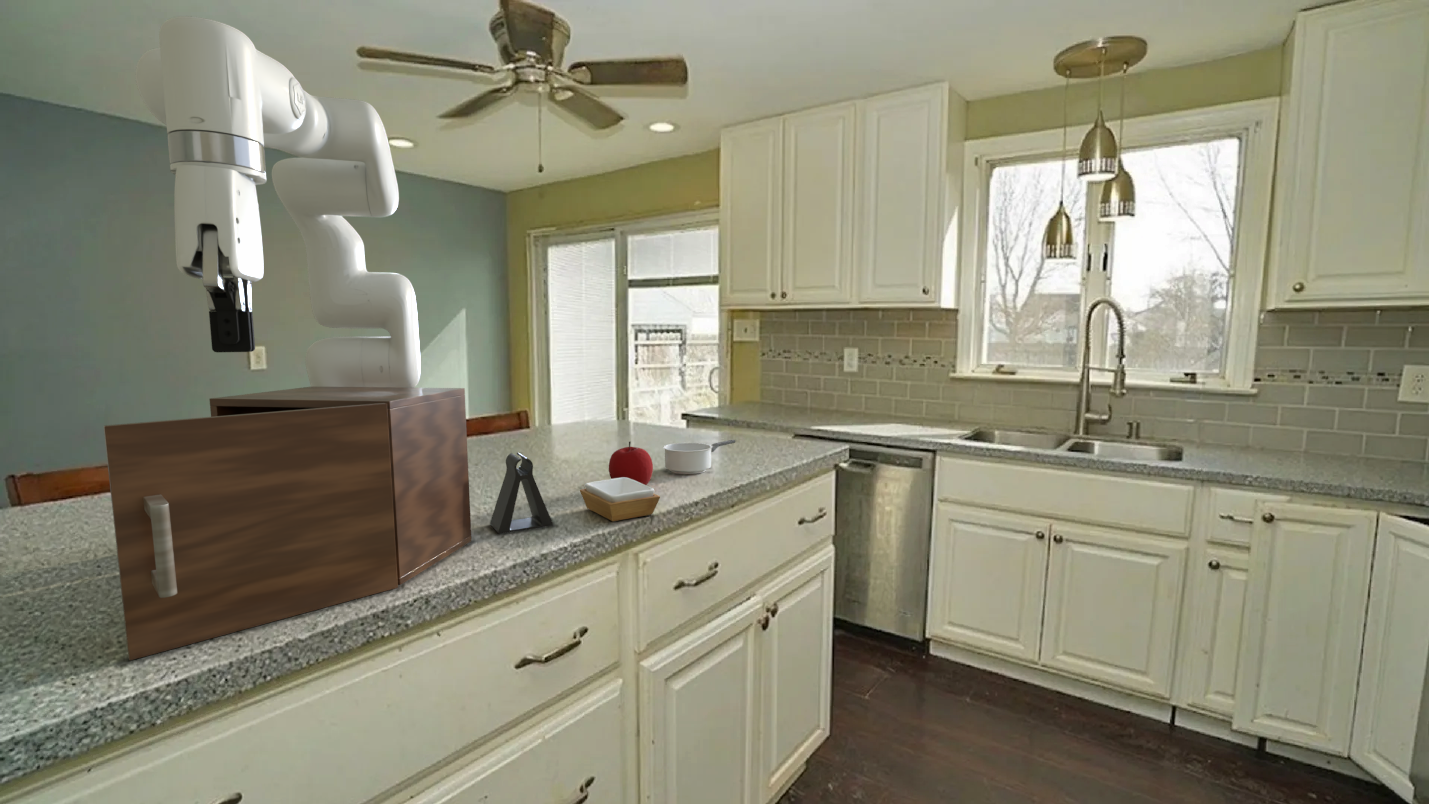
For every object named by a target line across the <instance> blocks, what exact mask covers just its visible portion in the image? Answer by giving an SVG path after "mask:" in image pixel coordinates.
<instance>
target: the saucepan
mask: <svg viewBox="0 0 1429 804" xmlns="http://www.w3.org/2000/svg"><path fill="white" fill-rule="evenodd" d="M735 443H736V439H727V440H724V441H718V442H715V443H712V444H710V443H704V442H675V443H674V442H673V443H669V444H664V445H663V446H662V448H663V449H664V468H665V469H666V470H669V471H670V473H672V474H677V475H695V474H696V475H697V474H702V473H705V472H706V471H707V470H708V469H710V468H711V467H712V453H714V452H715V451H716V450H717V449H718V448H719V447H722V446H727V445H731V444H735Z"/></svg>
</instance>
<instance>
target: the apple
mask: <svg viewBox="0 0 1429 804" xmlns="http://www.w3.org/2000/svg"><path fill="white" fill-rule="evenodd" d="M653 471H654V464H653V460H652V457H651V455H650V454H649V452H648V451H647V450H645V449H644V448H641V447H636V446H631V441H628V446H625V447H621V448H619V449H617V450H615V451H613V453H611V455H610V458H609V461H608V474H609V478H610V479H614V478H622V477H626V478H630V479H632V480H635V481H637V482H640V483H642V484H644V485H646V486H648V484H649V483H650V481H651V479H652V476H653Z"/></svg>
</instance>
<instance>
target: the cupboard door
mask: <svg viewBox="0 0 1429 804" xmlns="http://www.w3.org/2000/svg"><path fill="white" fill-rule="evenodd" d="M103 435H104V444H105V453H106V463H107V471H108V480H109V490H110V499H111V508H112V509H111V510H112V517H113V527H114V528H113V529H114V536H115V537H114V538H115V546H116V556H117V565H118V573H119V583H120V593H121V602H122V611H123V621H124V622H123V623H124V630H125V631H124V632H125V640H126V649H127V658H128V660H129V661H134V660H137V659H142V658H144V657H149V656H152V655H157V654H159V653H163V652H166V651H170V650H174V649H178V648H181V647H185V646H189V645H192V644H197V643H200V642H204V641H207V640H210V639H215V638H218V637H222V636H226V635H229V634H232V633H236V632H241V631H245V630H248V629H251V628H255V627H259V626H263V625H265V624H270V623H273V622H277V621H281V620H284V619H288V618H291V617H295V616H299V615H303V614H307V613H310V612H313V611H317V610H321V609H325V608H328V607H332V606H336V605H339V604H343V603H347V602H350V601H354V600H358V599H361V598H365V597H369V596H372V595H376V594H380V593H383V592H387V591H391V590H394V589H398V588H399V585H398V581H397V564H396V547H395V530H394V513H393V496H392V479H391V462H390V445H389V428H388V412H387V404H386V403H377V404H364V405H352V406H339V407H327V408H314V409H302V410H289V411H277V412H264V413H252V414H240V415H227V416H215V417H211V416H202V417H191V418H179V419H167V420H154V421H143V422H131V423H130V422H129V423H117V424H116V423H115V424H105V425H103Z"/></svg>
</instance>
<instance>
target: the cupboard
mask: <svg viewBox="0 0 1429 804" xmlns="http://www.w3.org/2000/svg"><path fill="white" fill-rule="evenodd" d="M377 403H386V404H387V412H388V428H389V445H390V462H391V479H392V496H393V513H394V530H395V547H396V564H397V581H398V586H400V585H403V584H404V583H407V582H408V581H409V580H411V579H413V578H414V577H416V576H417V575H419V574H420V573H422V572H424V571H426V570H427V569H429V568H430V567H432V566H434V565H435V564H437V563H439V562H440V561H442V560H443V559H445V558H447V557H448V556H450V555H452V554H453V553H455V552H456V551H458V550H460V549H461V548H463V547H464V546H466V545H468V544H470V543H471V542H472V518H471V499H470V497H471V496H470V476H469V455H468V452H469V451H468V434H467V432H468V431H467V412H466V411H467V409H466V389H465V388H464V387H414V388H401V387H313V386H312V387H311V386H304V387H295V388H285V389H278V390H271V391H270V390H269V391H262V392H261V391H260V392H253V393H244V394H236V395H235V394H234V395H229V396H219V397H211V398H209V410H210V411H209V412H210V417H215V416H227V415H240V414H252V413H264V412H277V411H289V410H302V409H314V408H327V407H339V406H352V405H364V404H377Z"/></svg>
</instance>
